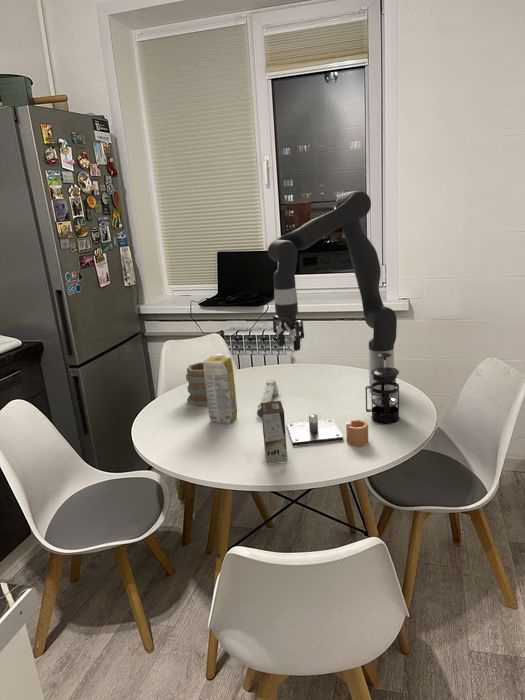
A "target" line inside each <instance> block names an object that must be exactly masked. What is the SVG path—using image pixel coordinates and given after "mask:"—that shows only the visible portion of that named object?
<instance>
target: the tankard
mask: <svg viewBox="0 0 525 700" xmlns="http://www.w3.org/2000/svg"><path fill="white" fill-rule="evenodd" d="M223 357H225V356H224V355H223ZM203 362H204V361H202V362H196V363H193V364H190V365H189V366H188V367H187V368H186V375H185V378H186V379H185V380H186V381H187V382H188V385H187V393H189V396H188V397H187V399H186V402H187V404H190V405H192V406H194V407H208V403H207V395H206V386H205V378H204V367H203Z"/></svg>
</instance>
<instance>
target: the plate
mask: <svg viewBox="0 0 525 700" xmlns="http://www.w3.org/2000/svg"><path fill="white" fill-rule="evenodd" d="M286 430H287V433H288V435H289V438H290V441H291V444H292V446H293V447H296V446H305V445H313V444H321V443H330V442H341V441H344V435H343V434H342V432H341V430H340V428H339V427H338V425H337V423H336V421H335V420H334V418H325V419H318V415H317V414H315V413H311V414H308V421H299V422H291V423H286Z"/></svg>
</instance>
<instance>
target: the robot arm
mask: <svg viewBox="0 0 525 700" xmlns="http://www.w3.org/2000/svg"><path fill="white" fill-rule="evenodd" d="M335 200H336V201H335V209H333V210H331V211H329V212H327V213H325V214H322V215H320V216H317V217H316V218H313V219H310V220H309V221H308V222H306V223H304V224H303V225H301V226H300V227H298V228H296V229H295V230H293V231H291V232H289V233H287V234H284V235H282V236H279V237H278V238H276V239H274V240H273V241H272V242H271V243H270V244H269V245H268V248H267V255H268V258H269V259H271V260H272V261H274V262H278V266H277V267H278V268H277V270H275V272H274V273H273V287H274V288H273V289H274V292H273V297H274V307H275V308H274V309H275V310H274V311H275V315H273V316H272V326H273V329H272V330H273V333H274V334H276V335H277V340H278V341H277V342H278V346H279V347H284V346H286V339H285V337H286V336H285V332H288V334H289V335H290V336H291V337H292V343H293V344H292V345H293V351H294V352H298V351H300V350H301V339H304V338H305V331H304V323H303V322H304V321H303V320H302V319H301V320H297V318H296V317H297V315H299V304H298V294H297V289H296V276H295V275H296V270H297V265H298V251H303V250H306V249H308V248H310V247H312V246H313V245H315V244H316V243H317V242H319V241H320V240H322V239H324V238H325V237H326V236H328V235H330V234H332V233H333V232H335V231H337V230H338V229H340V228H341V229H342V231H343V234H344V238H345V241H346V244H347V248H348V253H349V256H350V260H351V263H352V268H353V272H354V275H355V278H356V283H357V287H358V289H359V295H360V298H361V304H362V310H363V318H364V322H365V323H366V325H367V326H368V327H369V328H371V329H372V330H373V335H372V336H373V337H372V338H371V339H370V340H369V341H368V374H369V375H368V377H369V382H368V384H369V385H368V386H371V385H372V384H373V383H375V382H378V381H375V380H374V379H373V375H372V374H371V371H372V370H373V369H376V368H381V367H384V360H383V357H379V356H378V355H379V354H380V353H389V354H391V356H390V357H386V360H385V367H389V368H394V369H397V368H396V367H395V342H396V340H397V327H398V326H397V325H398V321H397V314H396V312H395V310H394V309H392V308H390V307H387V306H385V305H384V304H383V300H382V297H381V294H380V281H381V274H382V273H381V272H382V271H381V270H382V269H381V264H380V259H379V257H378V253H377V250H376V248H375V247H374V245H373V243H372V241H370V239H369V238H368V237H367V235H366V234H365V232H364V230H363V226H362V223H361V220H360V219H362V218H365V217H366V216H367V215H368V214H369V213H370V210H371V209H372V200H371V198H370V196H369V194H368V193H367V192H364V191H361V190H354V191H346V192H342V193H340V194H339V195H338V196H337V198H336V199H335ZM396 379H397V378H396ZM396 379H395V380H394V381H392V382H395V383H397V380H396ZM373 388H375V389H378V390H381V385H377V386H374V387H373ZM396 388H397V387H396V386H393V385H386V390H393V389H396ZM369 392H370V394H372V392H371V388H369ZM373 395H377V396H381V394H378V393H375V392H373Z"/></svg>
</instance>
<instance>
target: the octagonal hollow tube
mask: <svg viewBox="0 0 525 700" xmlns="http://www.w3.org/2000/svg"><path fill="white" fill-rule="evenodd" d="M345 428H346V429H345V431H346V433H345V434H346V442H347V444H348V445H349V446H352V447H356V448H357V447H364V446H365V447H366V445H367V444H368V443H369V424H368V422H367V421H366V420H362V419H351V420H349V421H347V422H346V423H345Z"/></svg>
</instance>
